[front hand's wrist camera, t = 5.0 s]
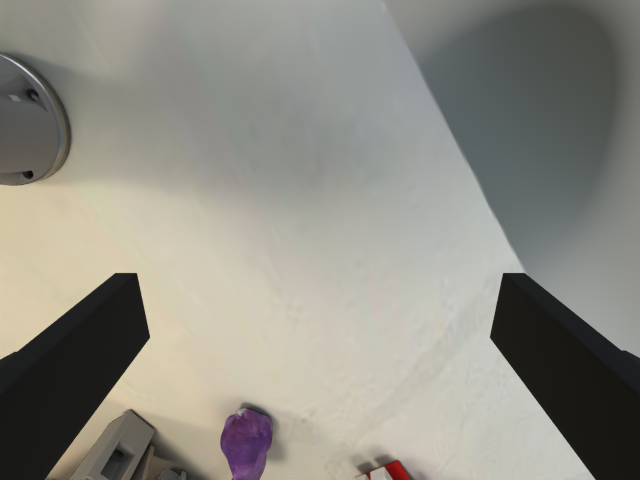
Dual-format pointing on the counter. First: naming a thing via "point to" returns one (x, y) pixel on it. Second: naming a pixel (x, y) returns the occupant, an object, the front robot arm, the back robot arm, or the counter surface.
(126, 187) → the counter surface
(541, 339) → the front robot arm
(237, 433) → the figurine
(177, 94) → the counter surface
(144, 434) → the record crate
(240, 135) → the counter surface
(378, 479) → the toy
